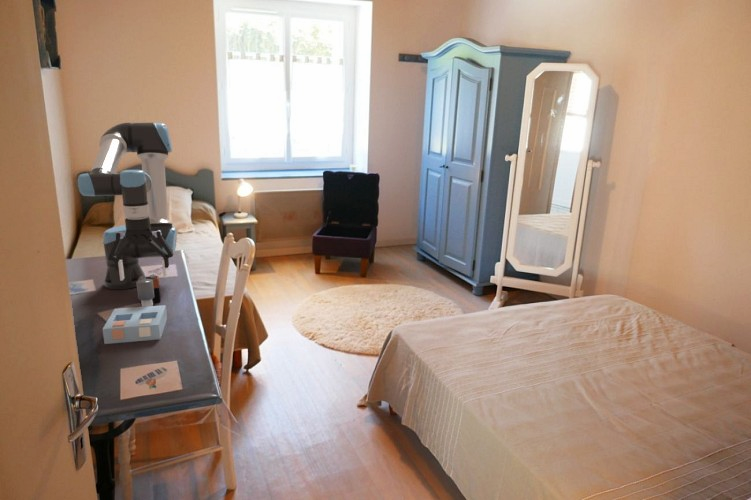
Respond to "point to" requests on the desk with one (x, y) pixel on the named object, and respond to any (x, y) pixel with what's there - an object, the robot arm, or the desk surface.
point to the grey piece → (145, 292)
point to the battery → (156, 287)
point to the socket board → (135, 324)
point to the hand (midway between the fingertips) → (144, 278)
